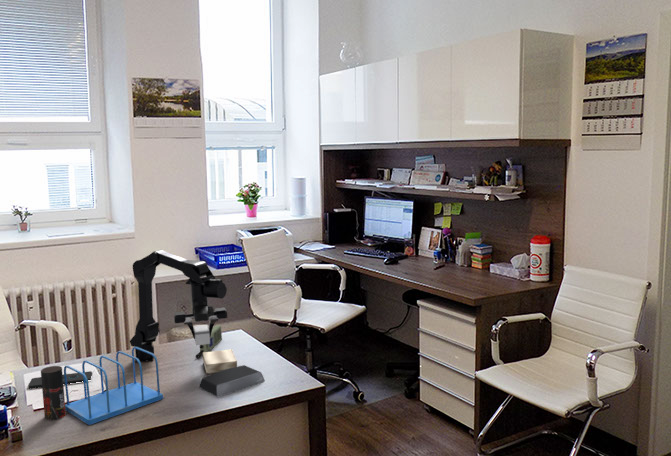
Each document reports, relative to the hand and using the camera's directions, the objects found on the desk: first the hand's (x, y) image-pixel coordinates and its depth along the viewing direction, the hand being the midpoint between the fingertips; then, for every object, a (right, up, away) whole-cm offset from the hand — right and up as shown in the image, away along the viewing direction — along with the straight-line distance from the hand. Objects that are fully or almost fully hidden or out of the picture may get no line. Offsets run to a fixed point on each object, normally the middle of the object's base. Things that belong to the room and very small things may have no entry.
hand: (202, 338), depth 226 cm
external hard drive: (+13, -14, -13) cm, 23 cm away
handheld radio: (-3, -9, +25) cm, 27 cm away
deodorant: (-37, -18, -36) cm, 55 cm away
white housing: (0, -1, 0) cm, 1 cm away
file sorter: (-22, -17, -28) cm, 39 cm away
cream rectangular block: (+6, -11, +4) cm, 13 cm away
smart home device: (-48, -15, -7) cm, 51 cm away
